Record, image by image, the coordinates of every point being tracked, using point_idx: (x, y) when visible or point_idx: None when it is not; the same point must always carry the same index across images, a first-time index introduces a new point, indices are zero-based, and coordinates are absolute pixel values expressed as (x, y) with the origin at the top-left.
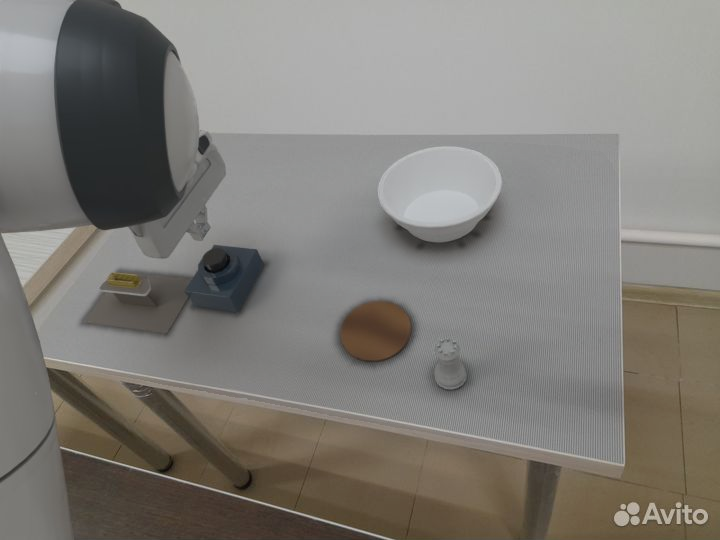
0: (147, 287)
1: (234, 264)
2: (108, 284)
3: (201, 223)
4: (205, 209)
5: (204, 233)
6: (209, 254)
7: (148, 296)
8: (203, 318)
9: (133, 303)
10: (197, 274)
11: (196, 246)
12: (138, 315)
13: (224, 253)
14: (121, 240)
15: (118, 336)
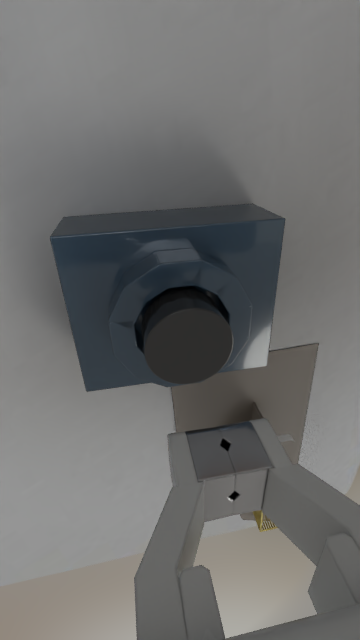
0: None
1: (179, 262)
2: None
3: (207, 497)
4: (154, 580)
5: (237, 436)
6: (184, 367)
7: None
8: (276, 289)
9: None
10: None
11: (73, 431)
12: (277, 418)
13: (167, 317)
14: (112, 548)
15: (322, 419)
